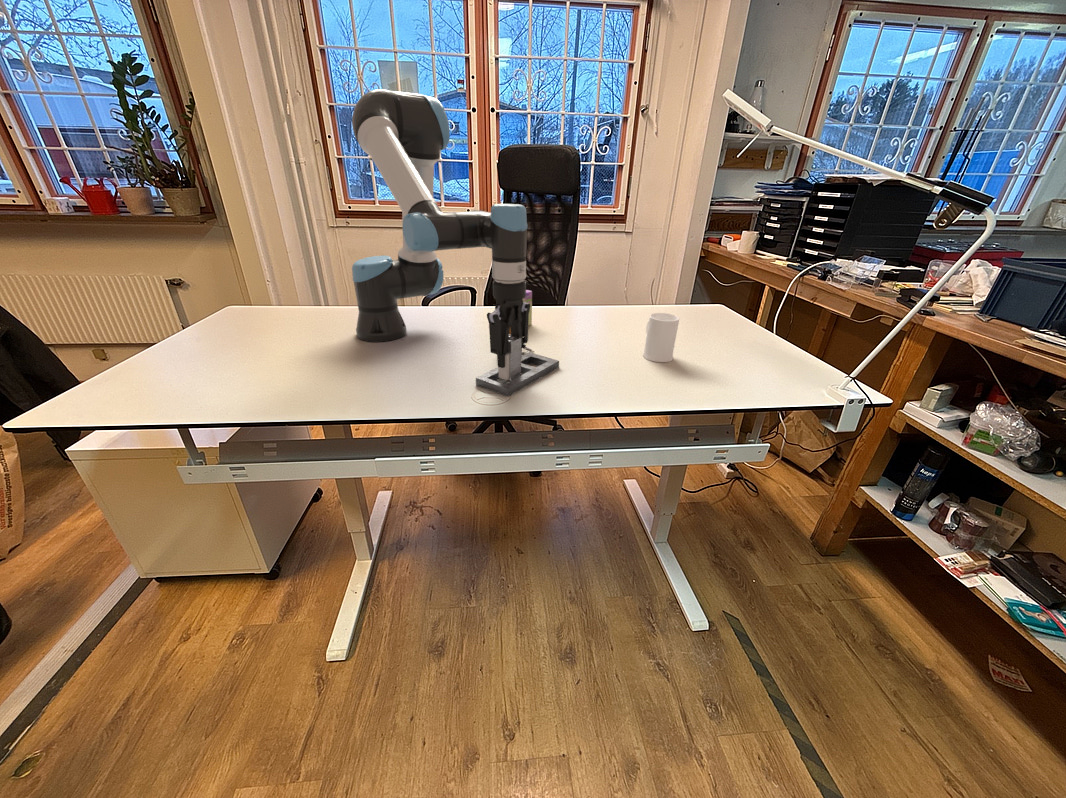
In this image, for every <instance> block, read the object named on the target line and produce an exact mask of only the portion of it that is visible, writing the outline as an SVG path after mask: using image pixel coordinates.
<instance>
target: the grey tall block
mask: <svg viewBox="0 0 1066 798" xmlns="http://www.w3.org/2000/svg"><path fill="white" fill-rule="evenodd" d="M506 354H509V380H508V381H509V382H510V381H512V380H513V379H515V378H517V377H519V376H521V375H522V374H521V337H517V336H513V335H510V334H509V337H508V345H507V353H506ZM497 367H498V366H497ZM498 375H499V367H498Z"/></svg>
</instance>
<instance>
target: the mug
mask: <svg viewBox="0 0 1066 798" xmlns="http://www.w3.org/2000/svg"><path fill="white" fill-rule="evenodd" d="M648 317H649V319H648V321H647V323H646V331H645V333H646V336H645V344H644V350H643V352H642V357H643V358H644V359H646V360H648V361H651V362H655V363H669V362H672V361H673V359H674V350H675V344H676V339H677V333H678V328H679V322H680V317H679V316H677V315H675V314H671V313H667V312H655V313H651V314H650V315H649V316H648Z"/></svg>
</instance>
